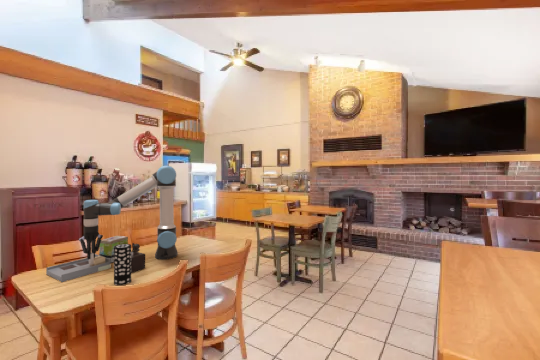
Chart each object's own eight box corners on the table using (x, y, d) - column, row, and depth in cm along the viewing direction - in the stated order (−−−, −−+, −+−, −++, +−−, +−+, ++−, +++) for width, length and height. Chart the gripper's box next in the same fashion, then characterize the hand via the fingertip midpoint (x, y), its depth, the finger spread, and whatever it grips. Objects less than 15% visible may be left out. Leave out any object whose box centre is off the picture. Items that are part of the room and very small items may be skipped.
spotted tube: (110, 283, 144) (110, 247, 143) (123, 278, 152) (123, 243, 151) (121, 286, 141) (121, 248, 140) (134, 280, 149) (134, 244, 148)
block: (105, 263, 167) (105, 257, 167) (94, 266, 162) (94, 260, 162) (100, 262, 170) (100, 255, 170) (90, 264, 165) (90, 258, 165)
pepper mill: (118, 270, 163) (118, 241, 162) (135, 265, 173) (135, 237, 172) (135, 275, 156) (135, 245, 155) (151, 269, 165) (151, 240, 165)
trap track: (110, 267, 167) (110, 259, 167) (61, 282, 145) (61, 272, 145) (94, 261, 178) (94, 253, 178) (46, 274, 156) (46, 265, 155)
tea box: (111, 263, 175) (111, 241, 175) (98, 262, 177) (98, 240, 177) (128, 256, 190) (128, 235, 190) (116, 255, 192) (116, 235, 192)
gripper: (99, 223, 170) (99, 259, 171) (75, 226, 159) (76, 265, 159) (105, 224, 166) (105, 262, 167) (82, 227, 155) (82, 268, 156)
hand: (91, 263), depth 163 cm, fingers closed
